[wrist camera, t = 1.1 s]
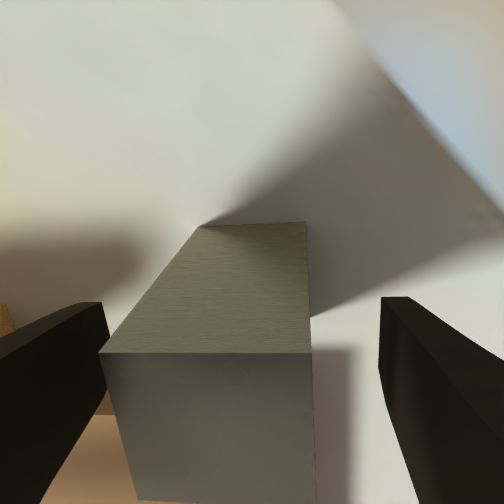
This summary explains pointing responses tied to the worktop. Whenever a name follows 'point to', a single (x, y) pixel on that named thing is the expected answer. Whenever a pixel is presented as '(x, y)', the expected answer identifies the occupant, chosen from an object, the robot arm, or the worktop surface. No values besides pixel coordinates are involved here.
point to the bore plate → (96, 466)
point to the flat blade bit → (5, 321)
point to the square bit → (220, 372)
